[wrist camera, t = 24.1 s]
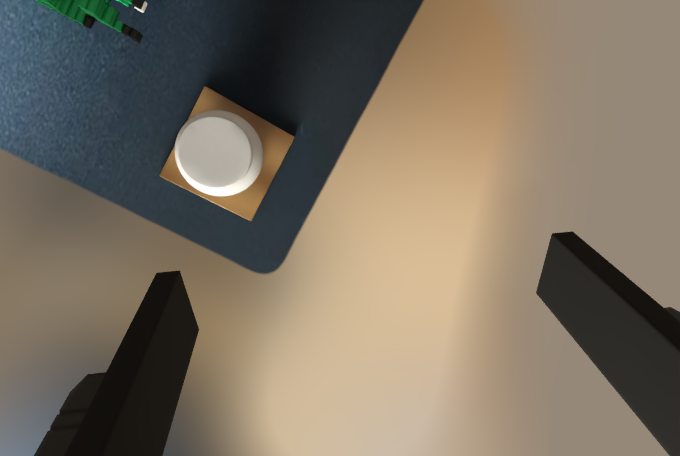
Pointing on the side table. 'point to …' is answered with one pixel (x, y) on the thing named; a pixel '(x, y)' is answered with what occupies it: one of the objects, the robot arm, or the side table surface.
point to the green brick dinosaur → (96, 13)
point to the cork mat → (273, 155)
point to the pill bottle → (218, 153)
